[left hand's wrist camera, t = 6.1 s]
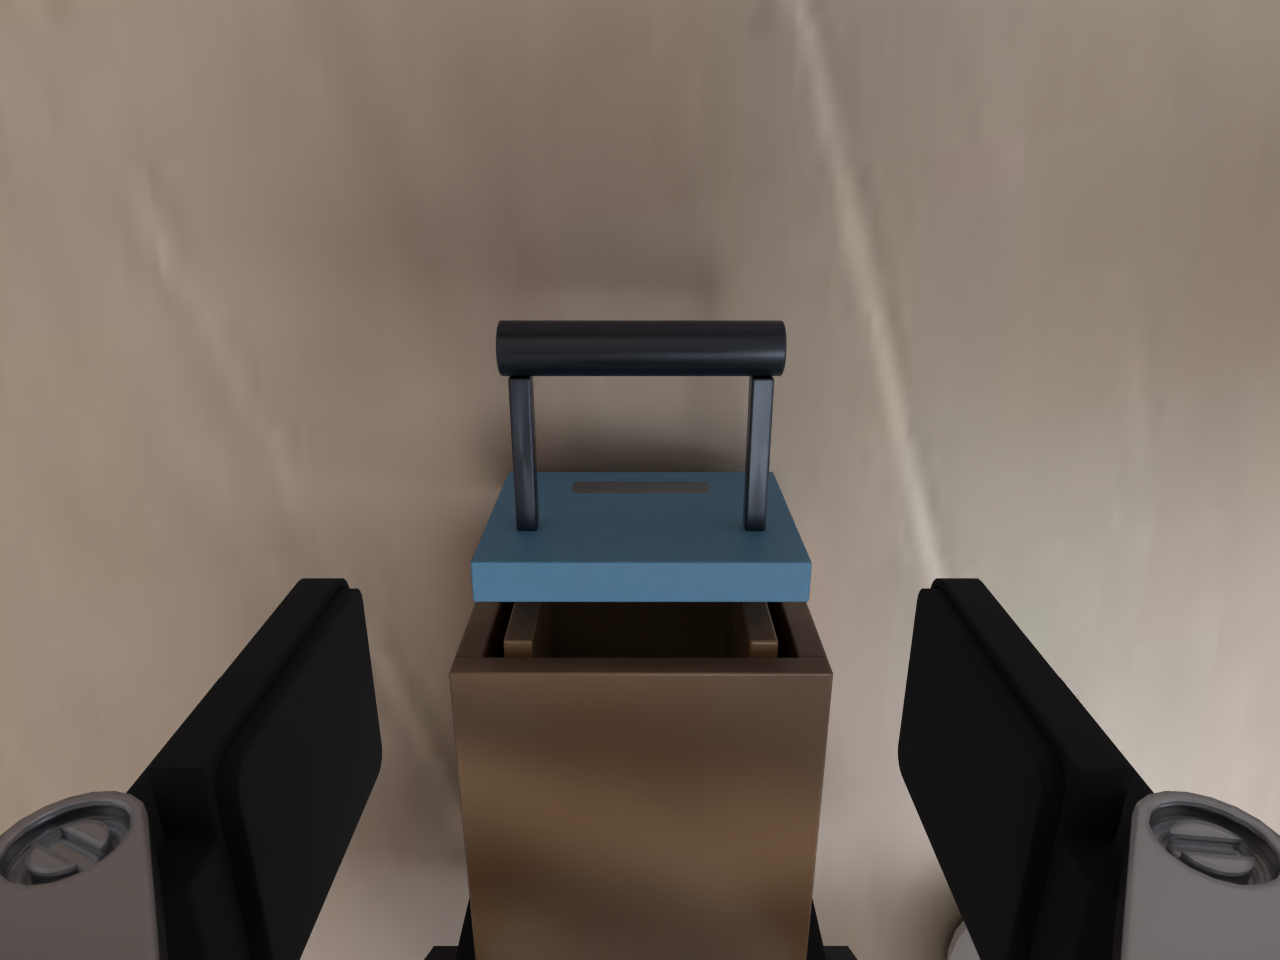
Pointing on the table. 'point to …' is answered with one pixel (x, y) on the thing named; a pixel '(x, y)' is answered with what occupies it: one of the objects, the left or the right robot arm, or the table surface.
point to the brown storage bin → (640, 797)
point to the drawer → (641, 510)
